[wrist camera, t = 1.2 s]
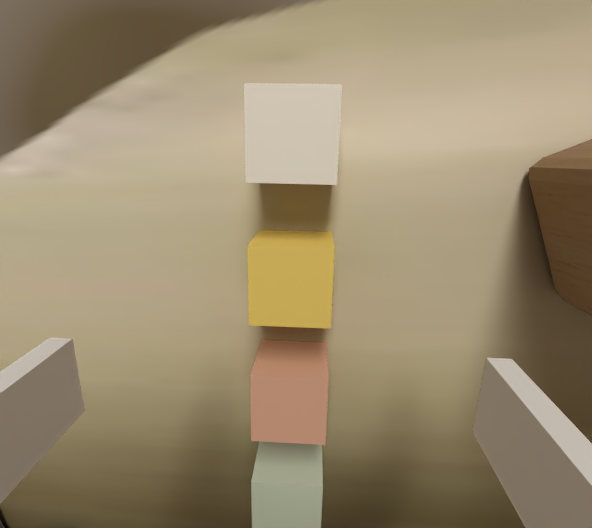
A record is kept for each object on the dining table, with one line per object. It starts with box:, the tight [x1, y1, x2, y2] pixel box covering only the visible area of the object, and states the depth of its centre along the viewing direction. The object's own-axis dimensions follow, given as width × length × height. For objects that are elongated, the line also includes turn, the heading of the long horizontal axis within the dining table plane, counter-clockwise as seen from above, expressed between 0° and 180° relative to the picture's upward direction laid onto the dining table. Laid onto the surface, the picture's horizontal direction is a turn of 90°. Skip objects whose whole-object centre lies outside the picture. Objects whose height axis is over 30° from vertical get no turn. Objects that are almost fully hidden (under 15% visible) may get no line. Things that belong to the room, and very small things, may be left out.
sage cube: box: [251, 441, 323, 528], centre depth 29 cm, size 5×5×5 cm
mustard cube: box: [248, 230, 335, 329], centre depth 24 cm, size 5×5×5 cm
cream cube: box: [244, 83, 342, 185], centre depth 22 cm, size 5×5×5 cm
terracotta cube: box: [250, 340, 329, 445], centre depth 27 cm, size 5×5×5 cm
